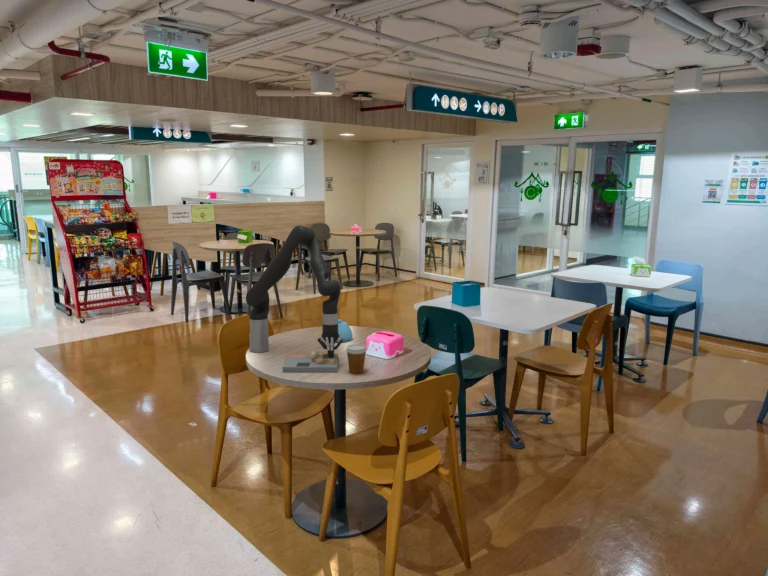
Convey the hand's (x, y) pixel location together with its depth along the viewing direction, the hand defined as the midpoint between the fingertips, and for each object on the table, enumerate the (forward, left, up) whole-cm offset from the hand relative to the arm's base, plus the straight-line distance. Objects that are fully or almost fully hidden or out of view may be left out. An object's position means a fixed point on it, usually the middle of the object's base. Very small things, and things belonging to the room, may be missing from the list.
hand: (330, 357), depth 268 cm
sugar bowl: (0, +47, -5) cm, 47 cm away
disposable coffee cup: (+12, -8, -5) cm, 16 cm away
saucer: (-18, +13, -4) cm, 22 cm away
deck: (-9, -2, -4) cm, 10 cm away
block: (-7, +1, -2) cm, 7 cm away
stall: (-2, +1, -2) cm, 3 cm away
